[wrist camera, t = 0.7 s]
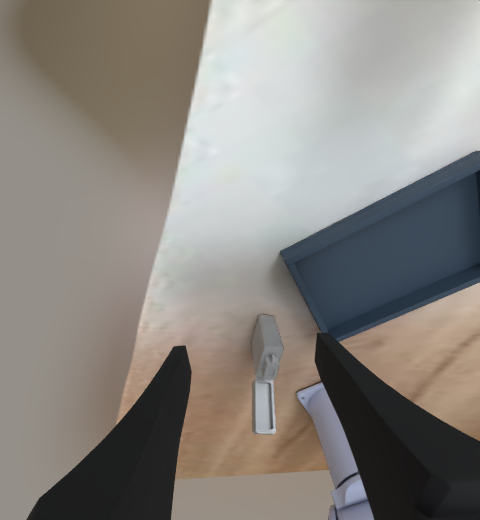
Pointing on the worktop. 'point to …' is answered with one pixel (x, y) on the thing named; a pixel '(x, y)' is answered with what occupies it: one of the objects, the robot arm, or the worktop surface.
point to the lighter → (265, 373)
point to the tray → (393, 253)
